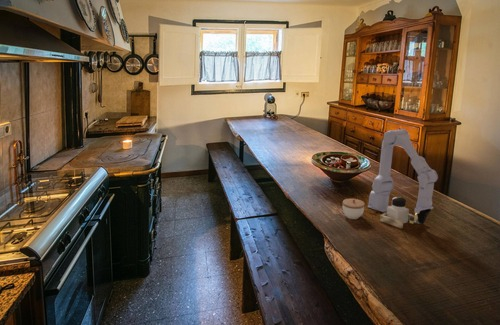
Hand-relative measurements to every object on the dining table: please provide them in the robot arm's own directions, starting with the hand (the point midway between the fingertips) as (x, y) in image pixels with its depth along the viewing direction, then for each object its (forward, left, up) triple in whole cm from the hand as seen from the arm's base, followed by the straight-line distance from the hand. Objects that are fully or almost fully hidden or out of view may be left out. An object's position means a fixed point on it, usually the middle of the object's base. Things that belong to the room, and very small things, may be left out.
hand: (421, 222), depth 162 cm
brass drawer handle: (-3, +1, 0) cm, 4 cm away
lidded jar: (-29, -12, -3) cm, 31 cm away
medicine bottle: (-11, -1, -3) cm, 12 cm away
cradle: (-11, -1, -3) cm, 12 cm away
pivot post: (-4, +6, -3) cm, 7 cm away
